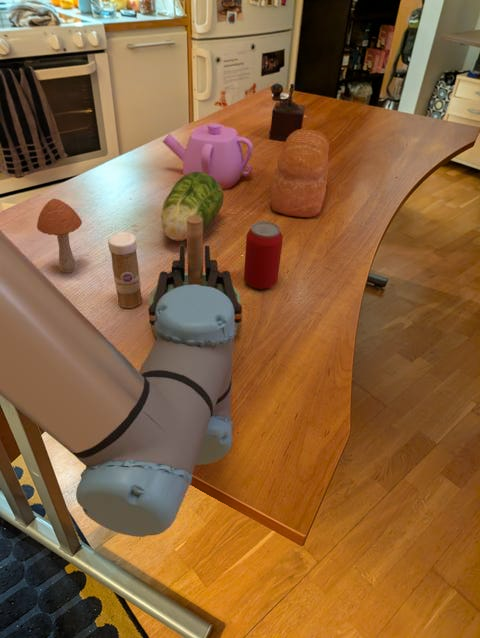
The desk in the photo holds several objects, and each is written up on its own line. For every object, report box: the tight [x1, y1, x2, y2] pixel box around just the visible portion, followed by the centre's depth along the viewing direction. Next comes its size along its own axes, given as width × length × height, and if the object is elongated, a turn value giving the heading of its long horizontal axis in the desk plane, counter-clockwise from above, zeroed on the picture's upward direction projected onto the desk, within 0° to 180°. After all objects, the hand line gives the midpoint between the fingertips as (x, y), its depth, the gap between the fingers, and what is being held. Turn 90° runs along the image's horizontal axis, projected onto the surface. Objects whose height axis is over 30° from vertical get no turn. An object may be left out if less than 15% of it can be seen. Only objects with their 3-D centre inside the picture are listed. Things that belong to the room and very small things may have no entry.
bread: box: [269, 128, 330, 218], centre depth 118 cm, size 14×26×15 cm, turn 168°
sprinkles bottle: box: [107, 231, 143, 309], centre depth 81 cm, size 5×5×13 cm
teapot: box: [162, 122, 254, 190], centre depth 125 cm, size 19×21×14 cm
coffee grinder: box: [268, 82, 306, 142], centre depth 151 cm, size 16×11×18 cm
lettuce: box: [160, 172, 225, 242], centre depth 102 cm, size 12×21×11 cm, turn 166°
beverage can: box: [243, 220, 284, 290], centre depth 88 cm, size 7×7×12 cm
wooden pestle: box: [186, 215, 204, 286], centre depth 74 cm, size 4×4×20 cm
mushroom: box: [36, 198, 83, 274], centre depth 87 cm, size 8×8×15 cm
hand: (194, 252), depth 78 cm, fingers open, 3 cm apart
